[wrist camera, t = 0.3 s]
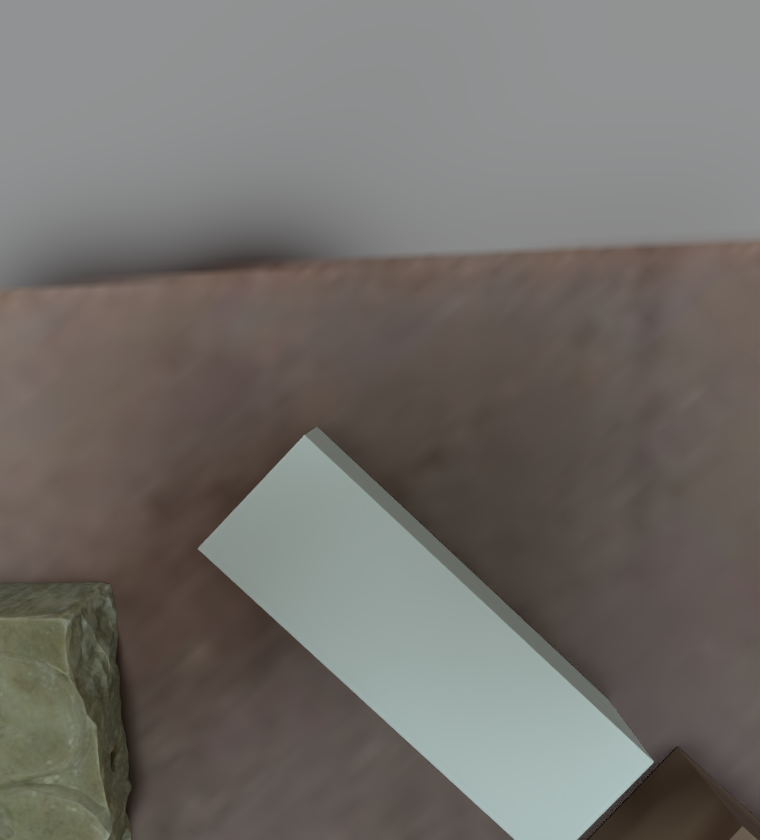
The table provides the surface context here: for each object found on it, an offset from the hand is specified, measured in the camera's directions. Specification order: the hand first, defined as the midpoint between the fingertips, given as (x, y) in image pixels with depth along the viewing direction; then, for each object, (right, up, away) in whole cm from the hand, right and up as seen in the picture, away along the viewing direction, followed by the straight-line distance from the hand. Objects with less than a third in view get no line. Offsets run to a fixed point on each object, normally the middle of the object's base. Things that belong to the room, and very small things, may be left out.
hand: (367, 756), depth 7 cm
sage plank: (+1, -3, +15) cm, 15 cm away
